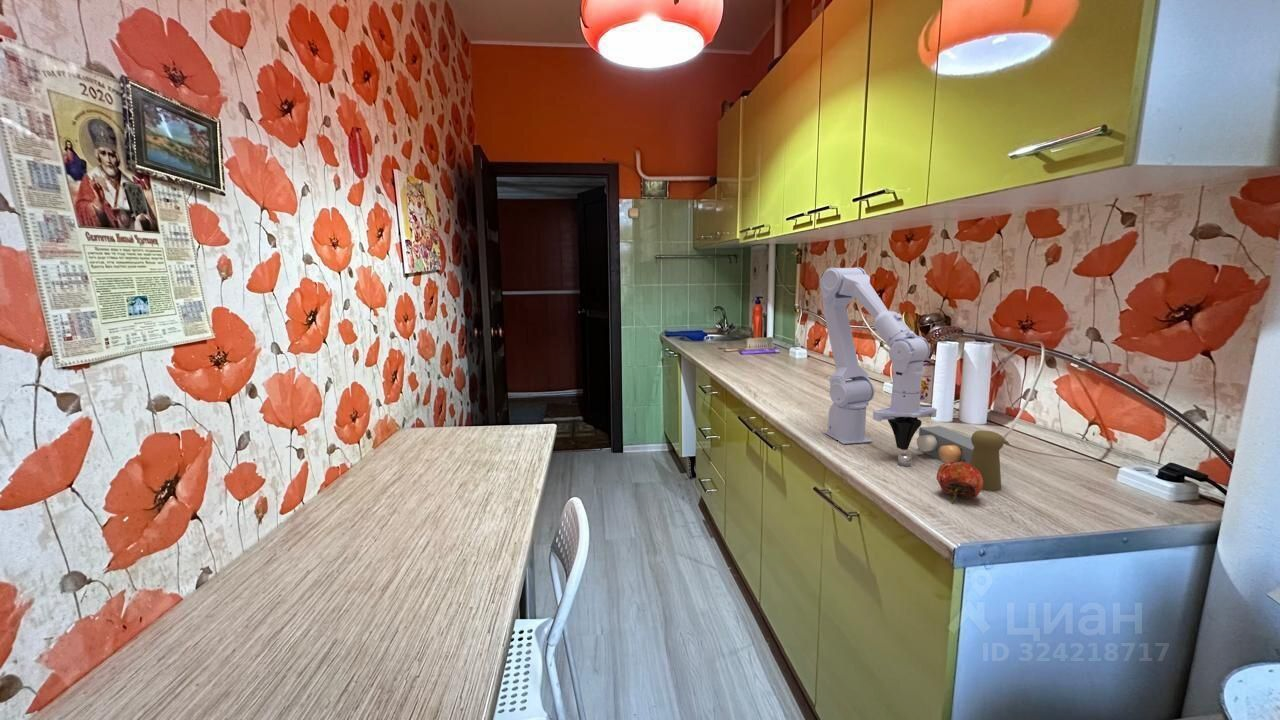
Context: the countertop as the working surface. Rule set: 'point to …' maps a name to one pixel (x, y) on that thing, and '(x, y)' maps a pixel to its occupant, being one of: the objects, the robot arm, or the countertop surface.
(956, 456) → the orange knob
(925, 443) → the cream knob
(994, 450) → the cork
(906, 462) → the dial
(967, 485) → the pomegranate
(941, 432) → the mount
